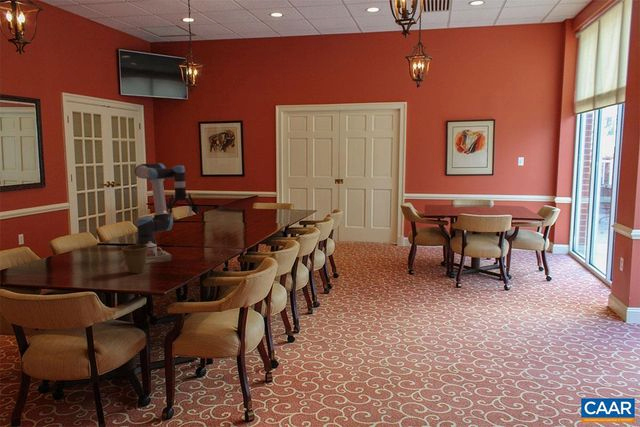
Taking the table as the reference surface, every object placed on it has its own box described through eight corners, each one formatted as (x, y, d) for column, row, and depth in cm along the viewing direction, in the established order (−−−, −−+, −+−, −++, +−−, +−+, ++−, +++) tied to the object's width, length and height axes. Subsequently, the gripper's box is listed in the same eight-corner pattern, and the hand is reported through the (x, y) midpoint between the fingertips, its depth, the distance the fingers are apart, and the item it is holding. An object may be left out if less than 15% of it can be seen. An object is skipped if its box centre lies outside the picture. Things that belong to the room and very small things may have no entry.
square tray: (134, 260, 338) (134, 254, 338) (163, 256, 350) (163, 250, 349) (141, 264, 325) (141, 258, 324) (171, 260, 336) (171, 254, 335)
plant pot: (140, 268, 316) (139, 243, 314) (153, 271, 307) (152, 246, 305) (119, 272, 305) (117, 247, 303) (131, 276, 295) (130, 250, 293)
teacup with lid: (142, 260, 331) (141, 243, 329) (144, 257, 340) (143, 240, 338) (161, 259, 333) (160, 242, 332) (163, 256, 342) (162, 239, 340)
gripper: (164, 188, 343) (166, 218, 346) (198, 186, 357) (200, 215, 360) (161, 187, 349) (162, 217, 352) (194, 185, 363) (196, 214, 366)
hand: (181, 216), depth 356 cm, fingers open, 13 cm apart
